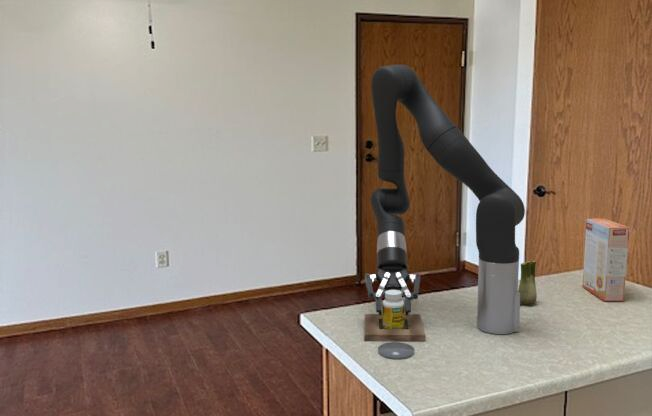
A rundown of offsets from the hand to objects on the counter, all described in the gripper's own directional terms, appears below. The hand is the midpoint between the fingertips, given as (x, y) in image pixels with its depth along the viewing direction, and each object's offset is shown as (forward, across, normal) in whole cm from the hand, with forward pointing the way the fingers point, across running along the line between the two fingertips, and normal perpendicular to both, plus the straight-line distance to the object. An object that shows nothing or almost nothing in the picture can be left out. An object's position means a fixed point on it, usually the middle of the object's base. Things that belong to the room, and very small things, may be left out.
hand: (393, 313), depth 138 cm
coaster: (+11, 0, -5) cm, 12 cm away
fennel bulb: (-12, +37, +19) cm, 43 cm away
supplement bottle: (+2, 0, +5) cm, 5 cm away
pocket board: (+2, 0, +5) cm, 5 cm away
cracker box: (-18, +60, +25) cm, 68 cm away
